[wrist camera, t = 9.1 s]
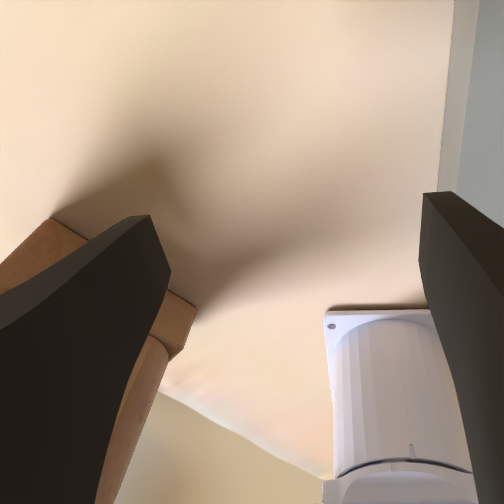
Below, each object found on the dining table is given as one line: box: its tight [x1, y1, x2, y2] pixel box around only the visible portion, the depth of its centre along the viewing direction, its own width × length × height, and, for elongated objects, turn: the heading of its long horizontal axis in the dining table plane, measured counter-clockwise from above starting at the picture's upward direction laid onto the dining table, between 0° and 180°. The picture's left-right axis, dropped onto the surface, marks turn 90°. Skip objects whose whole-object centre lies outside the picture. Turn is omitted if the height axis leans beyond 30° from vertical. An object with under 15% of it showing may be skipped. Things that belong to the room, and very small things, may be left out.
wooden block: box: [0, 219, 197, 504], centre depth 19 cm, size 4×11×18 cm, turn 54°
